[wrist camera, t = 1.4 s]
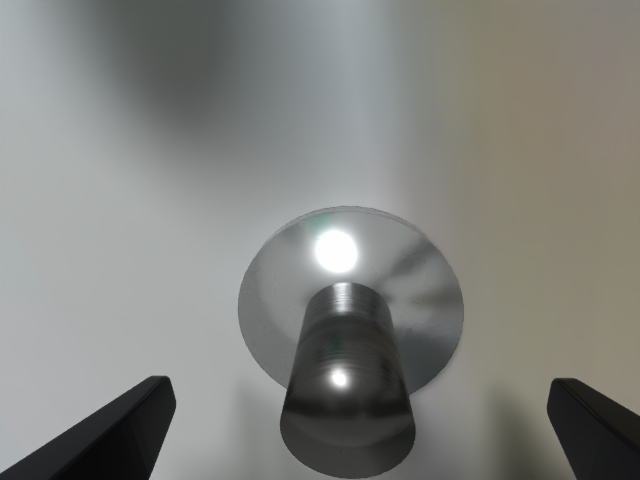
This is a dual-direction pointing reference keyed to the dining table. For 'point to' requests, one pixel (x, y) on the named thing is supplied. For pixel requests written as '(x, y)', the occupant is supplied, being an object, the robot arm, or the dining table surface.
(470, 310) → the dining table surface
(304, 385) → the lid
